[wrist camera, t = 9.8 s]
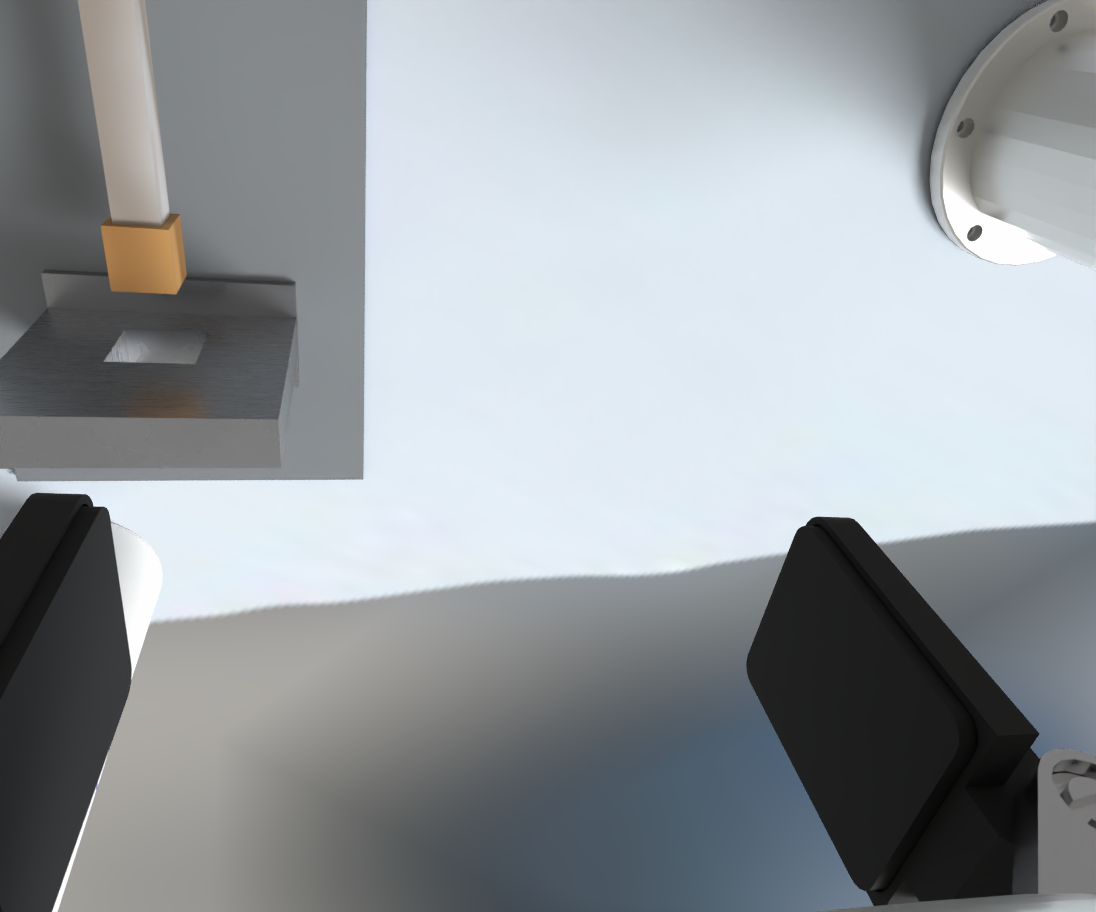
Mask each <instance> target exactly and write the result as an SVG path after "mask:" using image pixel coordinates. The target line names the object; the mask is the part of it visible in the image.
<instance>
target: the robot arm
mask: <svg viewBox="0 0 1096 912" xmlns="http://www.w3.org/2000/svg"><path fill="white" fill-rule="evenodd" d="M930 190H931V198H932V204H933V207H934V210H935V213H936V216H937V219H938V222H939V224H940V225H941V227H942V228H943V230H944V231H945V233H946V235H947V236H948V238H949V239H951V240H952V241H953V242H954V243H955V244H956V245H957V246H958V247H959V248H961V249H962V250H964V251H966V252H968V253H970V254H972V255H973V256H975V257H977V258H979V259H982V260H985V261H988V262H991V263H994V264H1001V265H1015V266H1016V265H1023V264H1030V263H1036V262H1039V261H1042V260H1045V259H1048V258H1051V257H1054V256H1057V255H1059V256H1061V257H1064V258H1066V259H1069V260H1071V261H1074V262H1076V263H1079V264H1081V265H1083V266H1086V267H1088V268H1091V269H1093V270H1096V0H1047V1H1045V2H1043V3H1041V4H1040V5H1038V6H1036V7H1034V8H1032V9H1030V10H1028V11H1027V12H1025V13H1024V14H1022V15H1021V16H1020V17H1019V18H1017V19H1016V20H1015V21H1013V22H1012V23H1011V24H1009V25H1008V26H1007V27H1006V28H1004V29H1003V30H1002V31H1001V32H1000V33H999V34H998V35H997V36H996V37H995V38H994V39H993V40H992V41H991V42H990V43H989V44H988V45H987V46H986V47H985V48H984V49H983V50H982V51H981V52H980V54H979V55H978V56H977V58H976V59H975V60H974V62H973V63H972V64H971V66H970V67H969V69H968V70H967V71H966V73H965V74H964V75H963V77H962V78H961V80H960V82H959V84H958V86H957V87H956V89H955V91H954V93H953V95H952V96H951V98H950V100H949V102H948V104H947V106H946V109H945V111H944V114H943V117H942V119H941V122H940V124H939V127H938V129H937V133H936V138H935V142H934V146H933V150H932V155H931V166H930ZM746 666H747V674H748V678H749V680H750V683H751V685H752V687H753V688H754V690H755V692H756V694H757V696H758V698H759V700H760V702H761V704H762V706H763V708H764V710H765V712H766V714H767V715H768V718H769V720H770V722H771V724H772V725H773V727H774V729H775V731H776V733H777V735H778V737H779V739H780V741H781V743H782V745H783V747H784V749H785V751H786V752H787V754H788V756H789V758H790V760H791V762H792V764H793V766H794V768H795V770H796V772H797V774H798V776H799V778H800V780H801V782H802V783H803V786H804V788H805V789H806V791H807V793H808V795H809V797H810V799H811V801H812V803H813V805H814V807H815V809H816V811H817V813H818V814H819V817H820V819H821V820H822V823H823V824H824V826H825V828H826V830H827V832H828V834H829V836H830V838H831V840H832V842H833V844H834V846H835V848H836V850H837V851H838V854H839V856H840V857H841V859H842V861H843V863H844V865H845V867H846V869H847V871H848V873H849V875H850V877H851V878H852V880H853V882H854V883H855V884H856V885H857V886H858V887H859V888H860V889H862V890H864V891H867V893H868V895H869V897H870V899H871V901H872V903H873V905H874V906H871V907H860V908H850V909H839V910H829V911H819V912H1096V757H1095V756H1092V755H1089V754H1086V753H1084V752H1081V751H1076V750H1069V749H1058V750H1051V751H1049V752H1047V753H1046V754H1045V755H1044V756H1042V757H1041V758H1040V759H1039V758H1038V757H1037V755H1036V754H1035V753H1034V752H1033V751H1032V749H1031V748H1030V747H1031V745H1032V744H1033V742H1034V741H1035V739H1036V738H1037V737H1038V735H1039V733H1038V731H1037V730H1036V729H1035V728H1034V727H1033V726H1032V725H1031V723H1030V722H1029V721H1028V720H1027V719H1026V718H1025V716H1024V715H1023V714H1022V713H1021V712H1020V710H1019V709H1018V708H1017V707H1016V706H1015V705H1014V704H1013V702H1012V701H1011V700H1010V699H1009V698H1008V697H1007V695H1006V694H1005V693H1004V692H1003V691H1002V690H1001V688H1000V687H999V686H998V685H997V684H996V683H995V681H994V680H993V679H992V678H991V677H990V676H989V675H988V673H987V672H986V671H985V670H984V669H983V668H982V666H981V665H980V664H979V663H978V662H977V660H976V659H975V658H974V657H973V656H972V655H971V654H970V652H969V651H968V650H967V649H966V648H965V647H964V645H963V644H962V643H961V642H960V641H959V640H958V638H957V637H956V636H955V635H954V634H953V633H952V631H951V630H950V629H949V628H948V627H947V626H946V624H945V623H943V621H942V620H941V619H940V617H939V616H938V615H937V614H936V613H935V612H934V610H933V609H932V608H931V607H930V606H929V605H928V604H927V603H926V601H925V600H924V599H923V598H922V596H921V595H920V594H919V593H918V592H917V591H916V589H915V588H914V587H913V586H912V585H911V584H910V583H909V581H908V580H907V579H906V578H905V577H904V576H903V574H902V573H901V572H900V571H899V570H898V569H897V567H896V566H895V565H894V564H893V563H892V562H891V560H890V559H889V558H888V557H887V556H886V555H885V554H884V552H883V551H882V550H881V549H880V548H879V546H878V545H877V544H876V543H875V542H874V541H873V539H872V538H871V537H870V536H869V535H868V534H867V532H866V531H865V530H864V529H863V528H862V527H861V525H860V524H859V523H858V522H856V521H855V520H854V519H851V518H839V517H815V518H812V519H811V520H810V521H808V523H807V524H806V526H803V527H800V528H799V529H798V530H797V532H796V534H795V536H794V539H793V541H792V544H791V546H790V549H789V552H788V554H787V557H786V559H785V562H784V564H783V567H782V570H781V572H780V575H779V577H778V580H777V582H776V585H775V587H774V590H773V593H772V595H771V598H770V600H769V603H768V605H767V608H766V610H765V613H764V616H763V618H762V620H761V623H760V626H759V628H758V631H757V633H756V636H755V638H754V641H753V643H752V646H751V649H750V651H749V654H748V657H747V665H746ZM131 677H132V666H131V658H130V651H129V644H128V637H127V630H126V624H125V617H124V610H123V603H122V596H121V589H120V583H119V576H118V569H117V562H116V555H115V548H114V541H113V535H112V528H111V521H110V516H109V512H108V510H107V508H105V507H93V503H92V500H91V499H90V497H89V496H88V495H86V494H54V493H35V494H32V495H31V496H30V497H29V498H28V499H27V500H26V502H25V503H24V505H23V506H22V508H21V509H20V511H19V512H18V514H17V515H16V517H15V518H14V520H13V521H12V523H11V524H10V526H9V527H8V528H7V530H6V531H5V533H4V534H3V536H2V537H1V539H0V912H52V911H53V908H54V905H55V902H56V899H57V896H58V893H59V891H60V888H61V885H62V882H63V879H64V876H65V874H66V871H67V868H68V865H69V862H70V859H71V857H72V854H73V851H74V848H75V845H76V842H77V839H78V837H79V834H80V831H81V828H82V825H83V822H84V820H85V817H86V814H87V811H88V808H89V805H90V803H91V800H92V797H93V794H94V791H95V788H96V785H97V783H98V780H99V777H100V774H101V771H102V768H103V766H104V763H105V760H106V757H107V754H108V751H109V749H110V746H111V742H112V740H113V737H114V734H115V731H116V728H117V726H118V723H119V720H120V717H121V714H122V712H123V708H124V706H125V703H126V700H127V697H128V693H129V690H130V685H131Z"/></svg>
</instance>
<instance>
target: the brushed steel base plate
mask: <svg viewBox="0 0 1096 912" xmlns="http://www.w3.org/2000/svg"><path fill="white" fill-rule="evenodd" d="M41 277H42V282H43V287H44V292H45V297H46V302H47V306H48V308H47V309H46V310H45V311H44V312H43V314H42V315H41V316H40V317H39V318H38V319H37V320H36V321H35V322H34V323H33V324H32V325H31V327H30V328H29V329H28V330H27V331H26V332H25V333H24V334H23V335H22V336H21V337H20V339H19V340H18V341H17V342H16V343H15V344H14V345H13V346H12V347H11V348H10V349H9V351H8V352H7V353H6V354H5V355H4V356H3V357H2V358H1V359H0V469H1V468H281V466H282V459H283V453H284V446H285V440H286V433H287V427H288V420H289V413H290V407H291V400H292V394H293V388H299V384H300V379H299V353H298V327H297V301H296V282H279V281H260V280H241V279H222V278H202V277H186V278H185V279H184V281H183V283H182V285H181V287H180V288H179V290H178V292H177V294H158V293H137V292H116V291H111V287H110V281H109V275H108V273H107V272H87V271H68V270H49V269H44V270H43V271H42V272H41Z"/></svg>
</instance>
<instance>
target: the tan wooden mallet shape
mask: <svg viewBox="0 0 1096 912" xmlns="http://www.w3.org/2000/svg"><path fill="white" fill-rule="evenodd" d="M78 5H79V11H80V18H81V24H82V31H83V37H84V44H85V50H86V57H87V63H88V70H89V76H90V83H91V89H92V96H93V102H94V109H95V115H96V122H97V128H98V135H99V141H100V148H101V154H102V161H103V167H104V174H105V180H106V187H107V193H108V200H109V206H110V213H111V216H110V217H109V218H108V219H107V220H106V221H105V222H104V223H103V224H102V225H101V231H102V238H103V244H104V250H105V256H106V262H107V269H108V275H109V281H110V287H111V291H116V292H137V293H158V294H177V292H178V290H179V288H180V287H181V285H182V283H183V281H184V279H185V278H186V276H187V272H186V263H185V254H184V245H183V236H182V227H181V217H180V214H171V213H170V211H169V202H168V194H167V185H166V177H165V168H164V159H163V151H162V142H161V134H160V125H159V116H158V108H157V99H156V91H155V82H154V73H153V65H152V56H151V48H150V39H149V30H148V22H147V13H146V5H145V0H78Z"/></svg>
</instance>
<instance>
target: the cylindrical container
mask: <svg viewBox="0 0 1096 912" xmlns="http://www.w3.org/2000/svg"><path fill="white" fill-rule="evenodd" d="M111 528H112V535H113V541H114V548H115V555H116V562H117V569H118V576H119V583H120V589H121V596H122V603H123V610H124V617H125V624H126V630H127V637H128V644H129V651H130V658H131V666H132V676H133V673H134V670H135V666H136V663H137V660H138V657H139V654H140V651H141V648H142V645H143V642H144V639H145V635H146V632H147V629H148V626H149V623H150V620H151V617H152V614H153V611H154V608H155V604H156V601H157V598H158V595H159V592H160V589H161V584H162V578H163V576H162V568H161V564H160V562H159V560H158V557H157V555H156V554H155V552H154V551H153V550H152V548H151V547H150V546H149V545H148V544H147V543H146V542H145V541H144V540H143V539H142V538H141V537H139V536H138V535H136V534H135V533H133V532H132V531H130V530H128V529H126V528H124V527H121V526H119V525H117V524H114V523H111ZM131 679H132V677H131ZM108 752H109V751H108ZM107 755H108V754H107ZM106 758H107V757H106ZM105 762H106V760H105ZM104 765H105V763H104ZM103 768H104V766H103ZM103 768H102V771H103ZM102 771H101V774H102ZM101 774H100V777H101ZM100 777H99V780H100ZM99 780H98V783H99ZM98 783H97V785H96V788H95V791H94V794H93V797H92V800H91V803H90V805H89V808H88V811H87V814H86V817H85V820H84V822H83V825H82V828H81V831H80V834H79V837H78V839H77V842H76V845H75V848H74V851H73V854H72V857H71V859H70V862H69V865H68V868H67V871H66V874H65V876H64V879H63V882H62V885H61V888H60V891H59V893H58V896H57V899H56V902H55V905H54V908H53V911H52V912H57V911H58V908H59V905H60V902H61V899H62V896H63V893H64V889H65V886H66V883H67V880H68V877H69V874H70V871H71V868H72V865H73V862H74V858H75V855H76V852H77V849H78V846H79V843H80V839H81V836H82V833H83V830H84V827H85V824H86V821H87V818H88V815H89V812H90V809H91V805H92V803H93V799H94V796H95V792H96V789H97V787H98Z"/></svg>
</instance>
